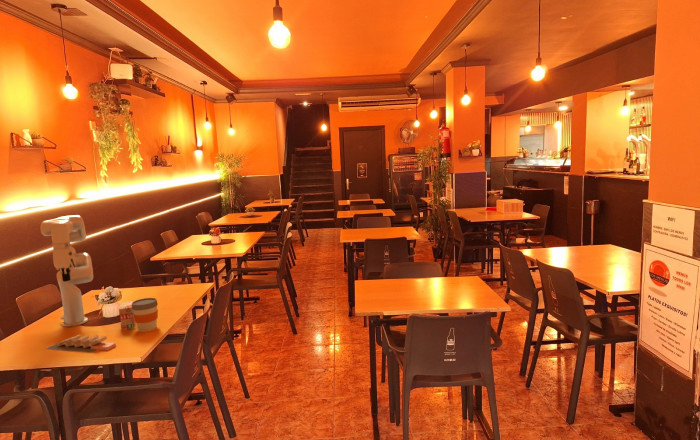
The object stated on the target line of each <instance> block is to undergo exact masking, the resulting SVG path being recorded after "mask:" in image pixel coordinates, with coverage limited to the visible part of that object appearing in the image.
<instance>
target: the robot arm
mask: <svg viewBox="0 0 700 440" xmlns="http://www.w3.org/2000/svg"><path fill="white" fill-rule="evenodd" d="M39 230H40V233H41V235H42V236H44V237H50V236H51V241H52V262H53V266H54V268H55V270H57V273H56V280H57V283H58V287H59V291H60V296H61V303H62V309H63V310H62V311H63V315H62V316H60V320H63V322H62V324H61V326H62V327H64V328H65V327H66V328H68V327H69V328H70V327H75V326H80V325H83V324H85V323H87V322H88V321H89V319H88V317H86V316H85V312H84V305H83V303H84V302H83V297H82V292H81V289H80V288H78V287H77V285H80V284H85V283H90V282H92V281H93V280H94V270H93V268H94V267H93V263H92V257H91V255H90V254H89V253H88V252H79V253H77V252H76V249H75V248H74V247H73V246H72V245H71V243H79V242H82V241H85V240H86V238H87V232H86V225H85V222H84V219H83V217H82V216H81V215H78V214H76V215H75V214H74V215H65V216H64V215H63V216H59V217H57V218H53V219H48V220H43V221H42V222H41V224H40V229H39Z"/></svg>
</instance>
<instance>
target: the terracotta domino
mask: <svg viewBox="0 0 700 440" xmlns="http://www.w3.org/2000/svg"><path fill="white" fill-rule="evenodd" d="M116 346H117V344H116V342H111V343H110V341H101V342H99V343H97V344H94V345H92V346H91V349H97V350H96V351H109V350H111V349H113V348H115V347H116Z"/></svg>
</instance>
